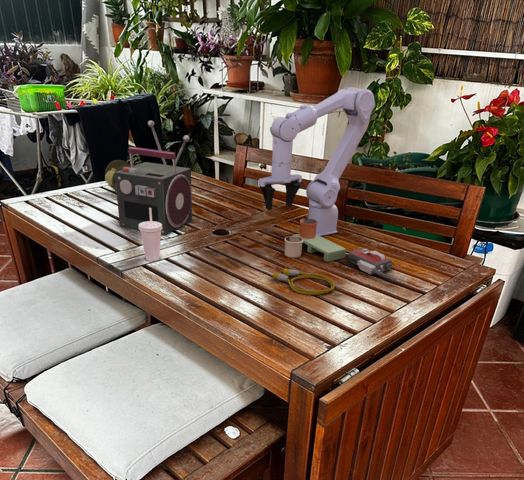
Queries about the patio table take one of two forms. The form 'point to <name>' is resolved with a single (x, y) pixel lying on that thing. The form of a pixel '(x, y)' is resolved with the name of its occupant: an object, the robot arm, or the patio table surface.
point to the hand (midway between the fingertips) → (278, 207)
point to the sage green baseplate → (324, 248)
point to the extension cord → (295, 272)
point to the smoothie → (151, 238)
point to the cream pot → (293, 246)
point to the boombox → (154, 190)
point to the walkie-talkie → (370, 262)
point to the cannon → (113, 168)
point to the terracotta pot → (308, 228)
